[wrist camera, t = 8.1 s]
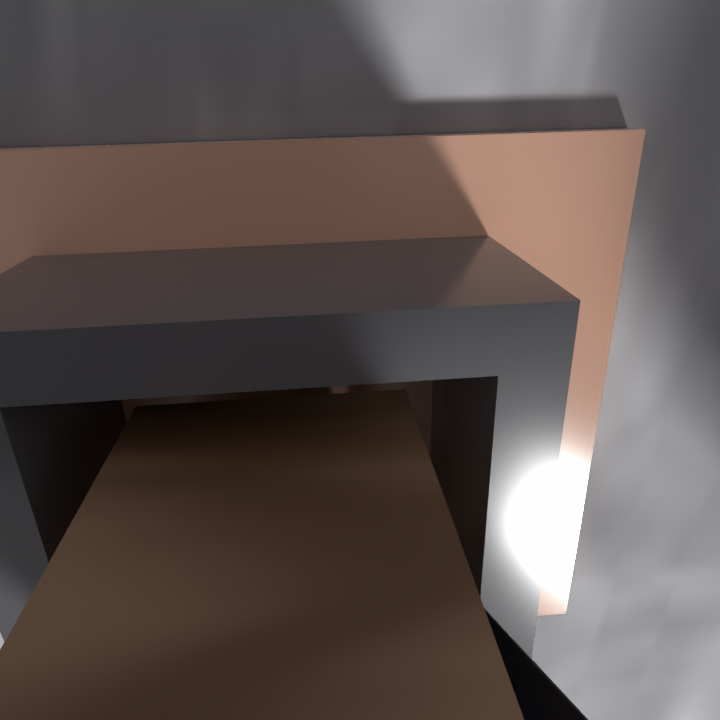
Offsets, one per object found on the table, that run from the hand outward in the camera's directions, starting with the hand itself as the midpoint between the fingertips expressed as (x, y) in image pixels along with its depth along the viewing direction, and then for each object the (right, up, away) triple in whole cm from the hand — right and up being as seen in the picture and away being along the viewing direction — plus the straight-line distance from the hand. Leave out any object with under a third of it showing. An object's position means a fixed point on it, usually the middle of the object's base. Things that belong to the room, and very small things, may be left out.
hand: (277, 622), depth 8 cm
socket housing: (-1, +2, +5) cm, 5 cm away
